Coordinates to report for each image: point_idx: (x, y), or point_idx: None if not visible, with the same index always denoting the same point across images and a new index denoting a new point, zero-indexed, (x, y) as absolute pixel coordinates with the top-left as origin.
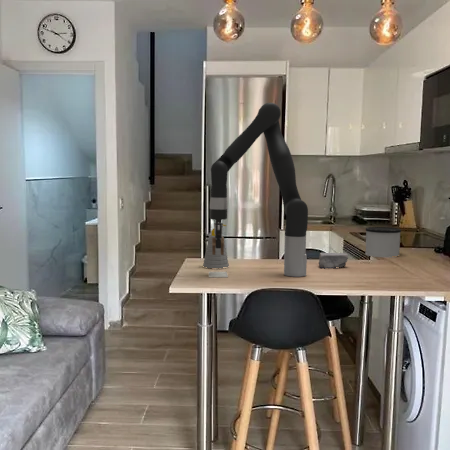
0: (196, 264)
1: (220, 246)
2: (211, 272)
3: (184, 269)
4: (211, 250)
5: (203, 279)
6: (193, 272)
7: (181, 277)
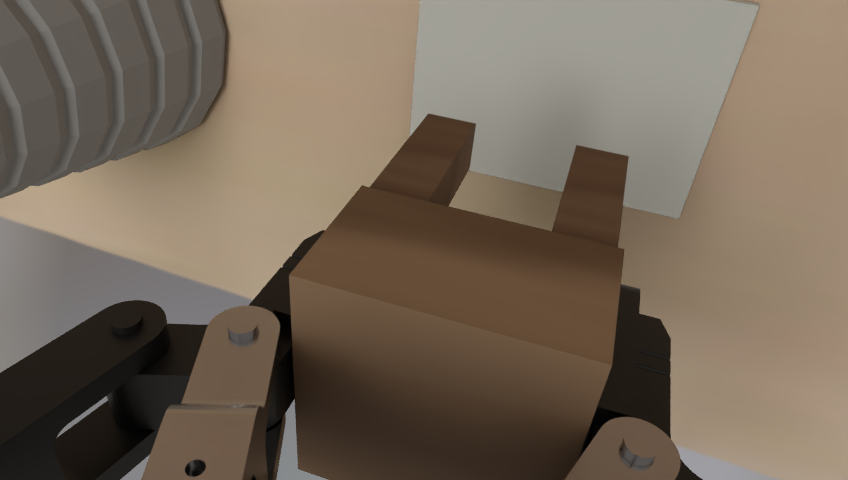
0: None
1: (637, 311)
2: None
3: None
4: (44, 158)
5: (763, 283)
6: None
7: None
